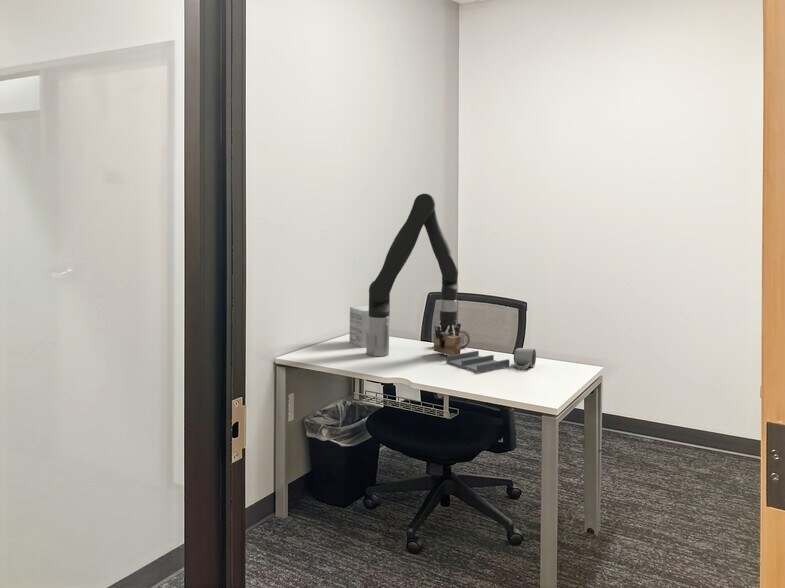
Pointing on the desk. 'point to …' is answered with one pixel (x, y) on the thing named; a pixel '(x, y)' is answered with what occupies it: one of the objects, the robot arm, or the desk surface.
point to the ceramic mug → (524, 358)
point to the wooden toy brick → (448, 344)
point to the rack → (476, 362)
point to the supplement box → (359, 325)
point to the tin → (463, 338)
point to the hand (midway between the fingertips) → (446, 347)
